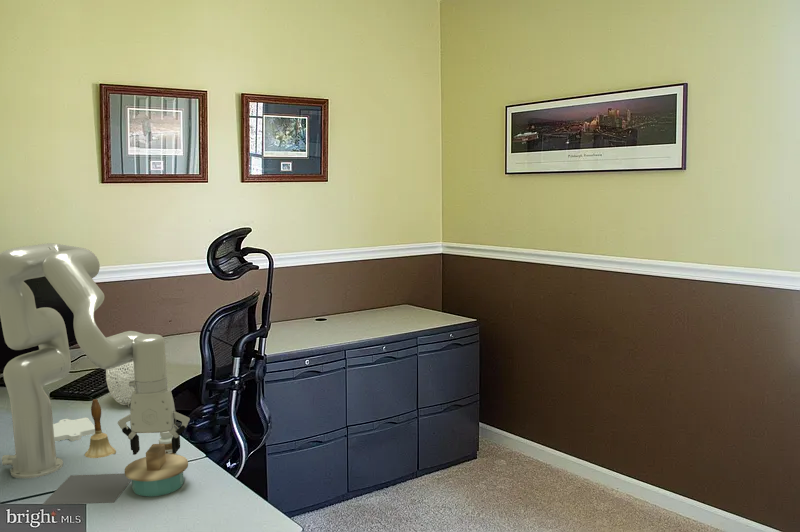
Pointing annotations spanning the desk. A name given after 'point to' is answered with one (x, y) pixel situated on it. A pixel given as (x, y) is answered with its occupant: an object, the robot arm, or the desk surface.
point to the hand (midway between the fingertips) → (156, 452)
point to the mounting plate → (73, 429)
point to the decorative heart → (121, 382)
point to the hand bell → (98, 436)
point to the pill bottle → (166, 441)
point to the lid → (156, 465)
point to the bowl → (158, 486)
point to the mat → (89, 489)
